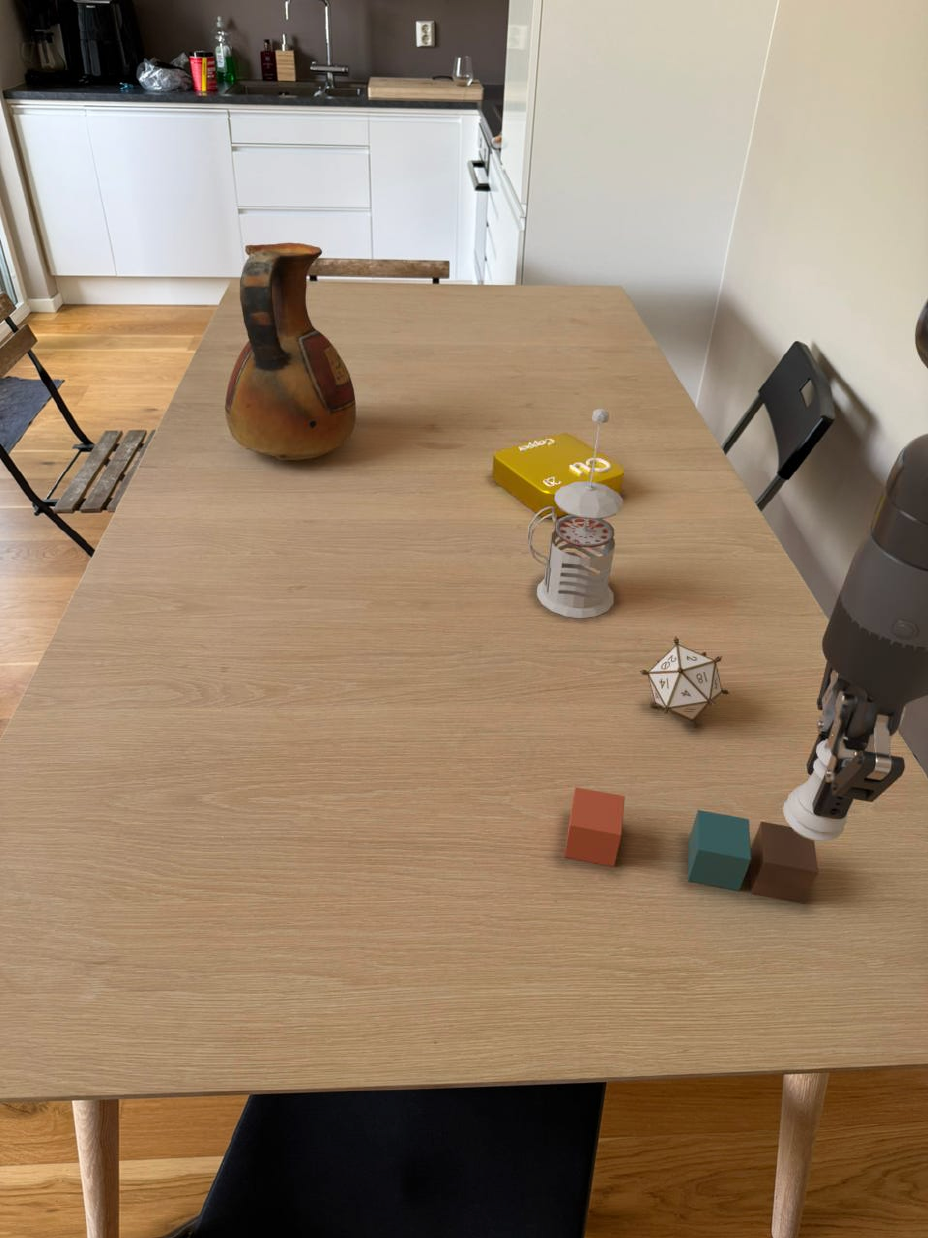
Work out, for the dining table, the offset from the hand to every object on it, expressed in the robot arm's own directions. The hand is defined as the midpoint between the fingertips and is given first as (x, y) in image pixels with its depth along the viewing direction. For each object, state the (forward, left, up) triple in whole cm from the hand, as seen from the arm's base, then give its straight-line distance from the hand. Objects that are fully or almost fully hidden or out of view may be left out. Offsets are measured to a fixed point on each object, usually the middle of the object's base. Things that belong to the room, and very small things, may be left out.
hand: (823, 792), depth 65 cm
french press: (+22, -44, -17) cm, 52 cm away
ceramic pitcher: (+69, -73, -17) cm, 102 cm away
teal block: (+4, -6, -17) cm, 19 cm away
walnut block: (-1, -6, -17) cm, 18 cm away
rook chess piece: (0, 0, -3) cm, 3 cm away
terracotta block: (+15, -6, -17) cm, 24 cm away
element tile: (+27, -71, -17) cm, 77 cm away
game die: (+8, -26, -17) cm, 32 cm away
